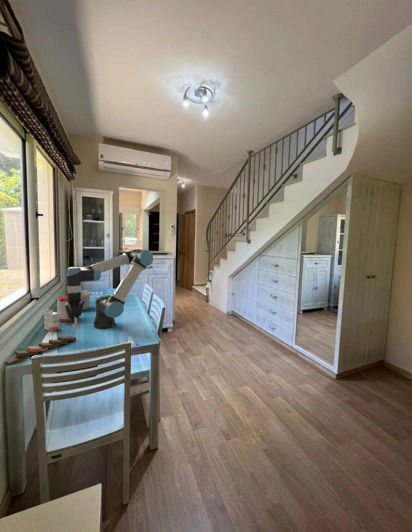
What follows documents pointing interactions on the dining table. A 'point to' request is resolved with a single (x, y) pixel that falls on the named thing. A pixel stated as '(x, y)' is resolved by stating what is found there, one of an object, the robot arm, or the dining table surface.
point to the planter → (85, 299)
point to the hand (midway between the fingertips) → (74, 327)
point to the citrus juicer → (62, 308)
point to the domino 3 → (35, 348)
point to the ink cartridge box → (51, 320)
